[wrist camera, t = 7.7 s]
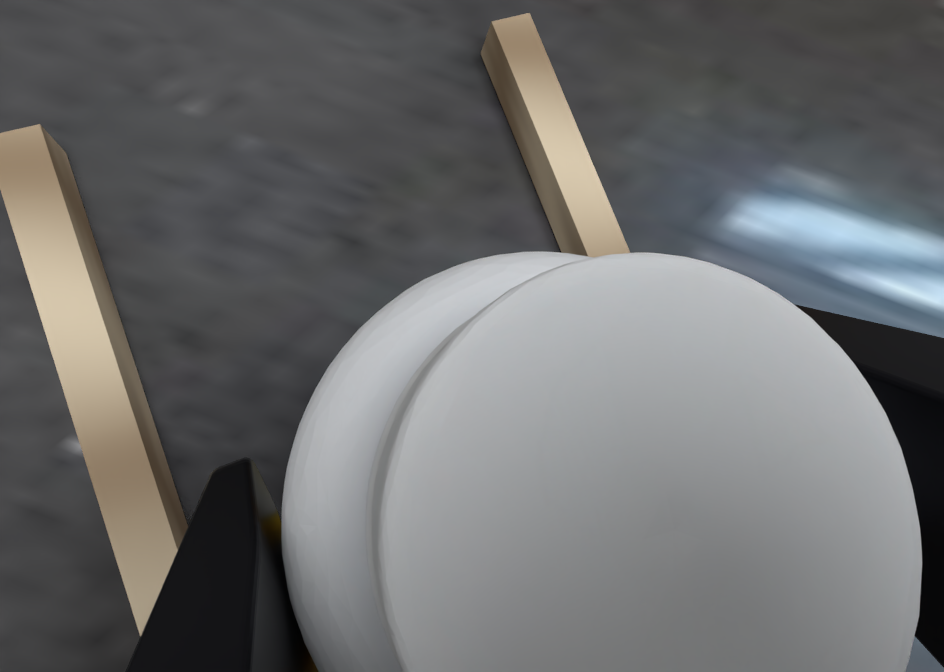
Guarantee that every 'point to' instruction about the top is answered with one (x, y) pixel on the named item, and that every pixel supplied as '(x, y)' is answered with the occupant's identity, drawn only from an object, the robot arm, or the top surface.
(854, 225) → the top surface
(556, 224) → the rail track
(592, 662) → the supplement bottle
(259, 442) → the top surface
